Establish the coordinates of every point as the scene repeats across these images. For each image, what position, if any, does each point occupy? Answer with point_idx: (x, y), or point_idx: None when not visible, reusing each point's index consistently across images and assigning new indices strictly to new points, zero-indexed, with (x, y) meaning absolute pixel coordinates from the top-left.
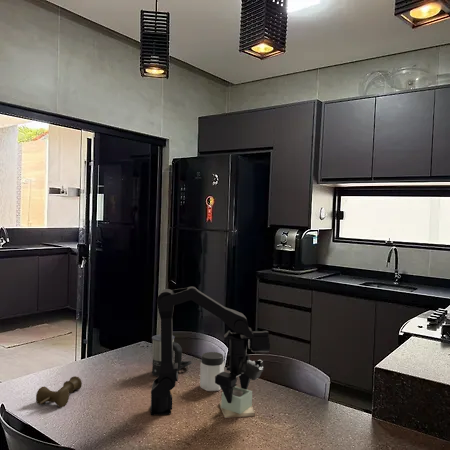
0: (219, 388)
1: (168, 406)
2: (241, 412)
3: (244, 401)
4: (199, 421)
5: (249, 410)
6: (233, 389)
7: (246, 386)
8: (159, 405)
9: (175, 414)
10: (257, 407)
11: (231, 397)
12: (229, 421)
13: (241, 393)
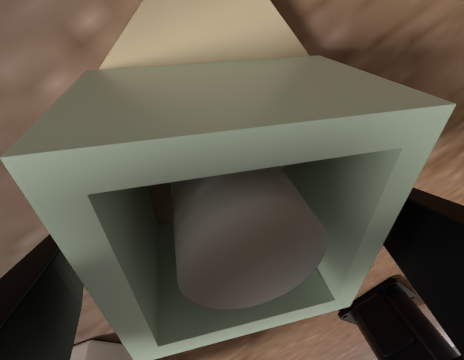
0: (87, 352)
1: (397, 307)
2: (303, 57)
3: (292, 87)
4: (424, 191)
5: (202, 20)
6: (173, 319)
7: (14, 319)
8: (427, 318)
9: (386, 270)
10: (3, 28)
11: (444, 205)
12: (394, 75)
13: (268, 210)
